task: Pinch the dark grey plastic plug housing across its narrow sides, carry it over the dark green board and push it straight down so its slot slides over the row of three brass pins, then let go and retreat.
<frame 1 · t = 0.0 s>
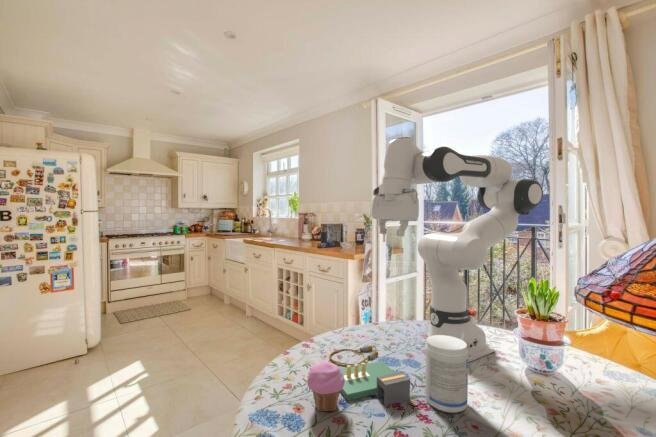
hand: (391, 235, 97), 39 cm above the table, tool pointing down, fingers open, 8 cm apart
extension cord: (354, 359, 100), on the table
plug housing: (392, 398, 78), on the table
supplement tub: (445, 403, 77), on the table
header board: (366, 381, 85), on the table
cupcake: (325, 407, 74), on the table
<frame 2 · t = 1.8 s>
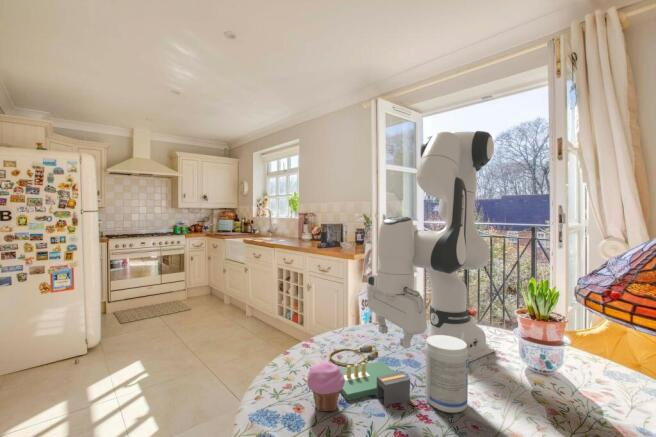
hand: (393, 339, 78), 15 cm above the table, tool pointing down, fingers open, 8 cm apart
nothing on the table moved.
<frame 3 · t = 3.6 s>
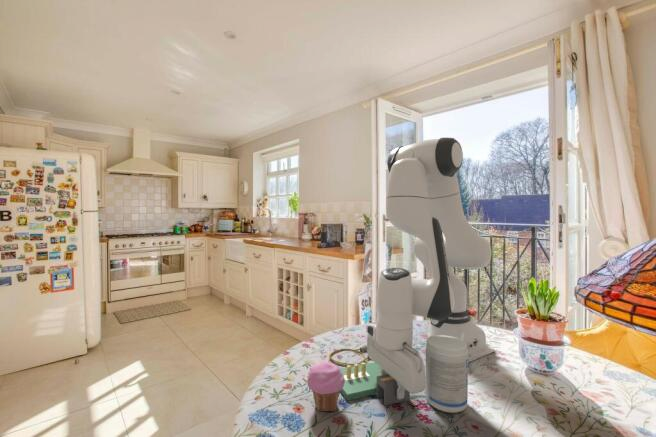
hand: (392, 391, 78), 2 cm above the table, tool pointing down, fingers closed on plug housing, 4 cm apart
plug housing: (392, 397, 78), on the table, touching gripper
everything else where it was.
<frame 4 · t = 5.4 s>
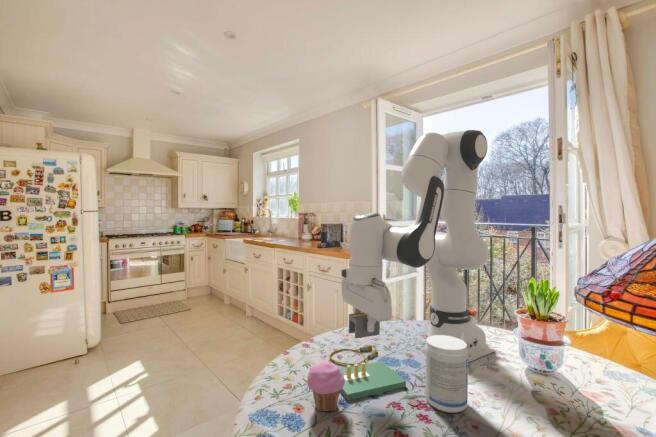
hand: (364, 327, 83), 15 cm above the table, tool pointing down, fingers closed on plug housing, 4 cm apart
plug housing: (363, 333, 83), point 14 cm above the table, touching gripper
everything else where it was.
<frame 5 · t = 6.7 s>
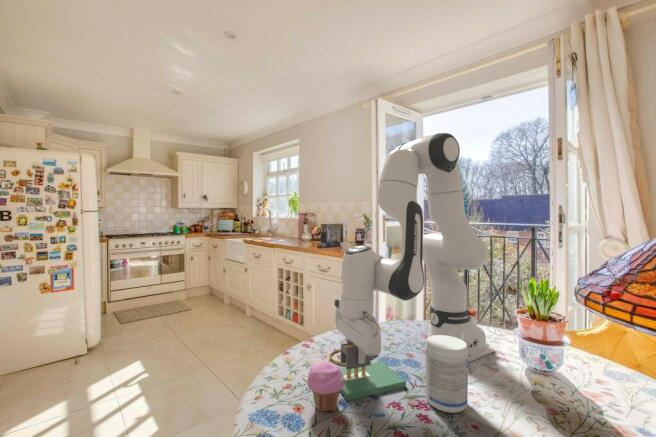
hand: (355, 358, 85), 6 cm above the table, tool pointing down, fingers closed on plug housing, 4 cm apart
plug housing: (355, 363, 85), point 5 cm above the table, touching gripper
everything else where it was.
when the fingers open (4 cm above the table, at t = 7.5 s): plug housing stays where it is, resting on header board.
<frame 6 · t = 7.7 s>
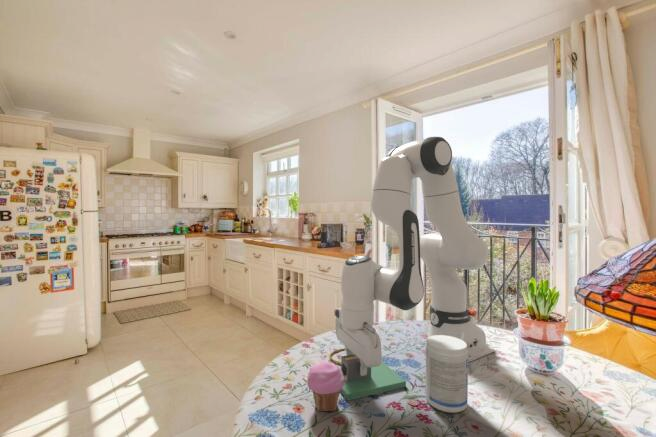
hand: (356, 368, 85), 4 cm above the table, tool pointing down, fingers open, 5 cm apart
plug housing: (356, 375, 85), point 1 cm above the table, touching header board
everything else where it was.
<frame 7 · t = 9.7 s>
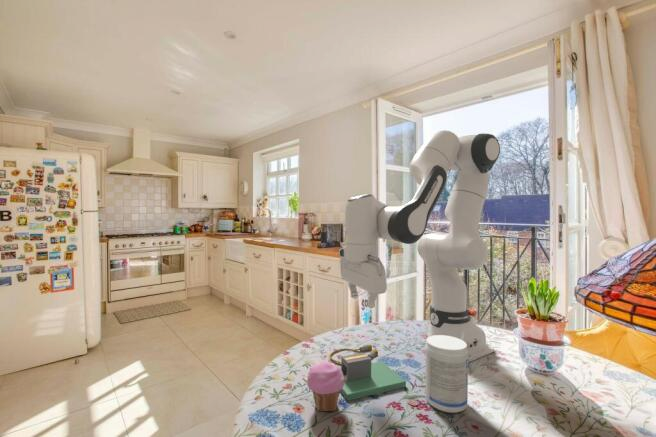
hand: (362, 302, 88), 20 cm above the table, tool pointing down, fingers open, 8 cm apart
nothing on the table moved.
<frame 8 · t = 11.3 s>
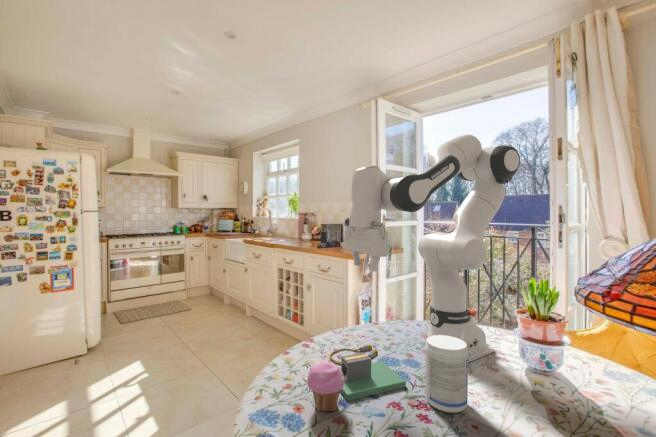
hand: (364, 268, 93), 29 cm above the table, tool pointing down, fingers open, 8 cm apart
nothing on the table moved.
at the end: plug housing 0.0 cm from the target spot, point 1.5 cm above the table; plug housing tilted 0°; the gripper is holding nothing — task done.
